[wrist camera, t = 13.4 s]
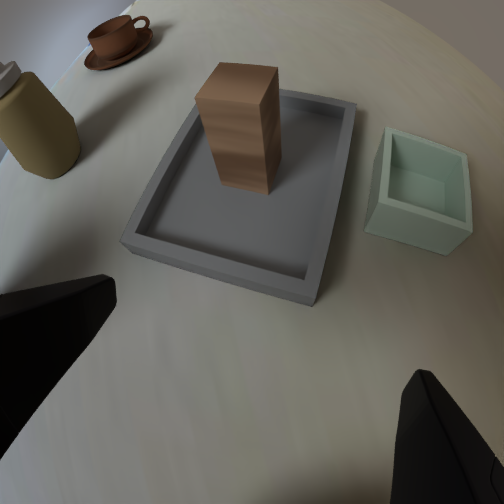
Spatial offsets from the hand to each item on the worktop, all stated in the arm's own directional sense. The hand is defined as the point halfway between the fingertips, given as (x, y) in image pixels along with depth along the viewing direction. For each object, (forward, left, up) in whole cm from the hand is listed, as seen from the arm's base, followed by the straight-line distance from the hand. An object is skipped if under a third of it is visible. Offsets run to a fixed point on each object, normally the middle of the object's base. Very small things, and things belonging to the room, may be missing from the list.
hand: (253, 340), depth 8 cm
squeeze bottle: (-17, +27, -14) cm, 35 cm away
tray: (+3, +15, -14) cm, 20 cm away
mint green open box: (+15, +8, -14) cm, 22 cm away
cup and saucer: (-9, +48, -14) cm, 51 cm away
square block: (+3, +15, -13) cm, 20 cm away
